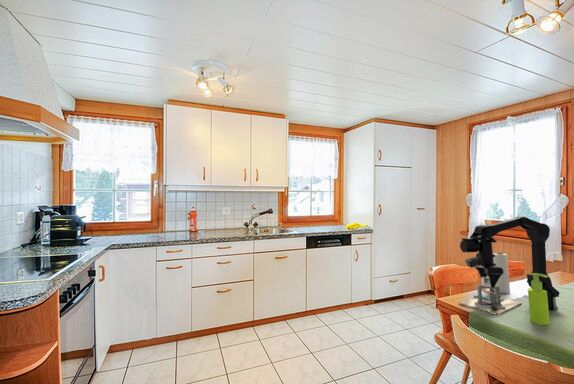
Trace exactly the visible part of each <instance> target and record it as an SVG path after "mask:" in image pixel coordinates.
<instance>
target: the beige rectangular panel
mask: <svg viewBox="0 0 574 384" xmlns="http://www.w3.org/2000/svg"><path fill="white" fill-rule="evenodd" d="M477 300H478V293H476V294H474V295H473V297H471V298H468V299H465V300H462V301H460V302H458V305H459V306H463V307H464V308H465V307H466V308H469V309H473V310H476V311H480V310H486V311H490V312H493V313H496V314H501V313H503V314H505V313H507V312H506V311H508V310H510V309H512V308H514V307H516V306H518V305H520V304H523V303H522V302H521V301H518V300H517V301H516V300H513V299H507V298H502V297H500V301H501V304H502V306H497V311H494V310H491V306H487V305H480V304H479V303H478V302H477ZM482 300H483V301H491V300H490V296H489V295H487V294H486V293H485V294H484V293H482ZM520 306H521V305H520ZM518 307H519V306H518ZM516 308H517V307H516ZM514 309H515V308H514ZM512 310H513V309H512ZM510 311H511V310H510ZM504 312H505V313H504ZM508 312H509V311H508ZM501 315H502V314H501Z"/></svg>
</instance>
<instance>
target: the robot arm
mask: <svg viewBox="0 0 574 384" xmlns="http://www.w3.org/2000/svg"><path fill="white" fill-rule="evenodd" d="M518 227H520V228H521V229H522V230H525V232H526V236H527V237H528V239H529V240H530V244H531V266H532V271H531V273H539V274H544V275H547V276H549V274H548V273H547V254H546V253H547V252H546V251H547V250H546V241H548V239H549V237H550V232H551V229H550V226H549V225H548V224H546V223H542V222H539V221H536V220H533V219H530V218H529V217H526V216H515V217H513V218H509V219H505V220H503V221H500V222H496V223H492V224H483V225H482V224H480V225H479V224H478V225H477V226H475V227H474V231H473V232H472V233H471V235H470V236H469V237H468V238H466V237H462V238H461V239H462V240H461V241H460V244H459V248H460V251H461V252H462V253H476V254H475V256H473V257H470V258H466V259H465V260H464V261H465V263H466V265H467V267H469V268H470V269H471V268H474V269H475V270H476V271H478V272H477V273H478V275H479V277H480V279H481V281H482V277H489V281H490V285H491V287H492V288H494V287H495V285H496V283H497V281H498V279H499V278H500V276H501V275H502V274H504V271H503V269H502V268H501V267H499V266H496V264H495V263H494V261H493V257H495V255H494V254H493V253H494V249H493V243H497V242H498V241H497V240H496V239H495V238H494V237H495V236H497V234H499V233H501V232H505V231H507V230H510V229H514V228H515V229H516V228H518ZM531 273H530V274H529V273H527V274H526V278H527V280H526V283H527V284H528V286H529V288H532V286H531V281H533V280H534V279H533V275H531ZM539 281H540V282H542V289H543V290H545V291H547V299H548V310H549V311H551V312H552V311H555V310H557V309H558V308H559V307H558V306H557V298H559V296H560V291H559V290H557V289H556V288H555V287H554V285H553V282H552V279H551V277H550V276H549V277H546V278H545V277H542V276H539Z"/></svg>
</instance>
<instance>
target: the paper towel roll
mask: <svg viewBox="0 0 574 384" xmlns="http://www.w3.org/2000/svg"><path fill="white" fill-rule="evenodd" d="M493 254H494V255H495V257H493V261H494V263H495V264H496V266H499V267H501V268H502V269H503V271H504V274H502V275H501V276H500V278H499V279H498V281H497V283H496V285H495V286H499V288H500V294H510V293H511V288H510V287H511V286H510V275H509V274H510V272H509V263H508V254H507V253H501V252H493Z"/></svg>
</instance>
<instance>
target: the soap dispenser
mask: <svg viewBox="0 0 574 384" xmlns="http://www.w3.org/2000/svg"><path fill="white" fill-rule="evenodd" d="M530 274H531V275H533V279H534V280H533V281H531V286H532V288H531V287H529V288H527V294H528V305H529V306H528V307H529V318H530V322H531V323H532V324H536V325H540V326H550V324H551V323H550V310H548V299H547V291H545V290H543V289H542V282H540V281H539V276H542V277H545V278H546V277H550V276H549V275H548V276H547V275H544V274H539V273H532V272H530Z"/></svg>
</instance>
